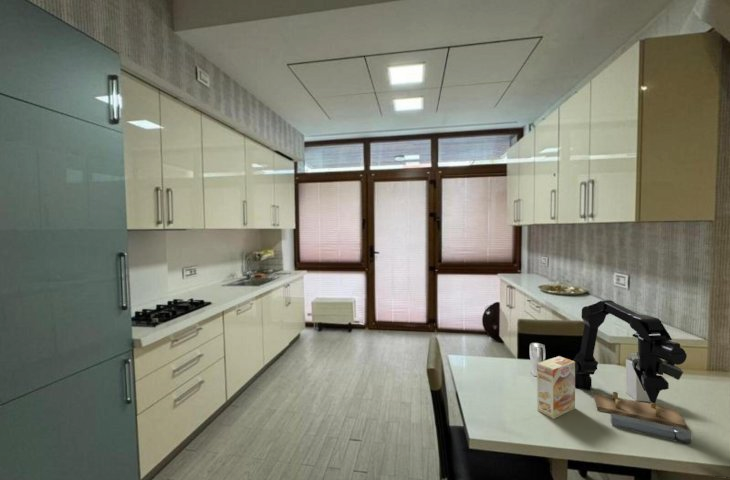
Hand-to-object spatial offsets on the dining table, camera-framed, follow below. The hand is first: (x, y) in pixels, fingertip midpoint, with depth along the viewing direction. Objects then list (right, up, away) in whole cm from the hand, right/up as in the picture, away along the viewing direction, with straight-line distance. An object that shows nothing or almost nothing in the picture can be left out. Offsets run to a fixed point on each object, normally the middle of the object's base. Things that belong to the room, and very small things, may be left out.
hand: (649, 396), depth 112 cm
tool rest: (+6, -12, +13) cm, 19 cm away
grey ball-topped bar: (0, -13, 0) cm, 13 cm away
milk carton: (+17, -12, +23) cm, 31 cm away
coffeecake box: (-24, -13, +16) cm, 31 cm away
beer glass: (-14, -12, +46) cm, 50 cm away
